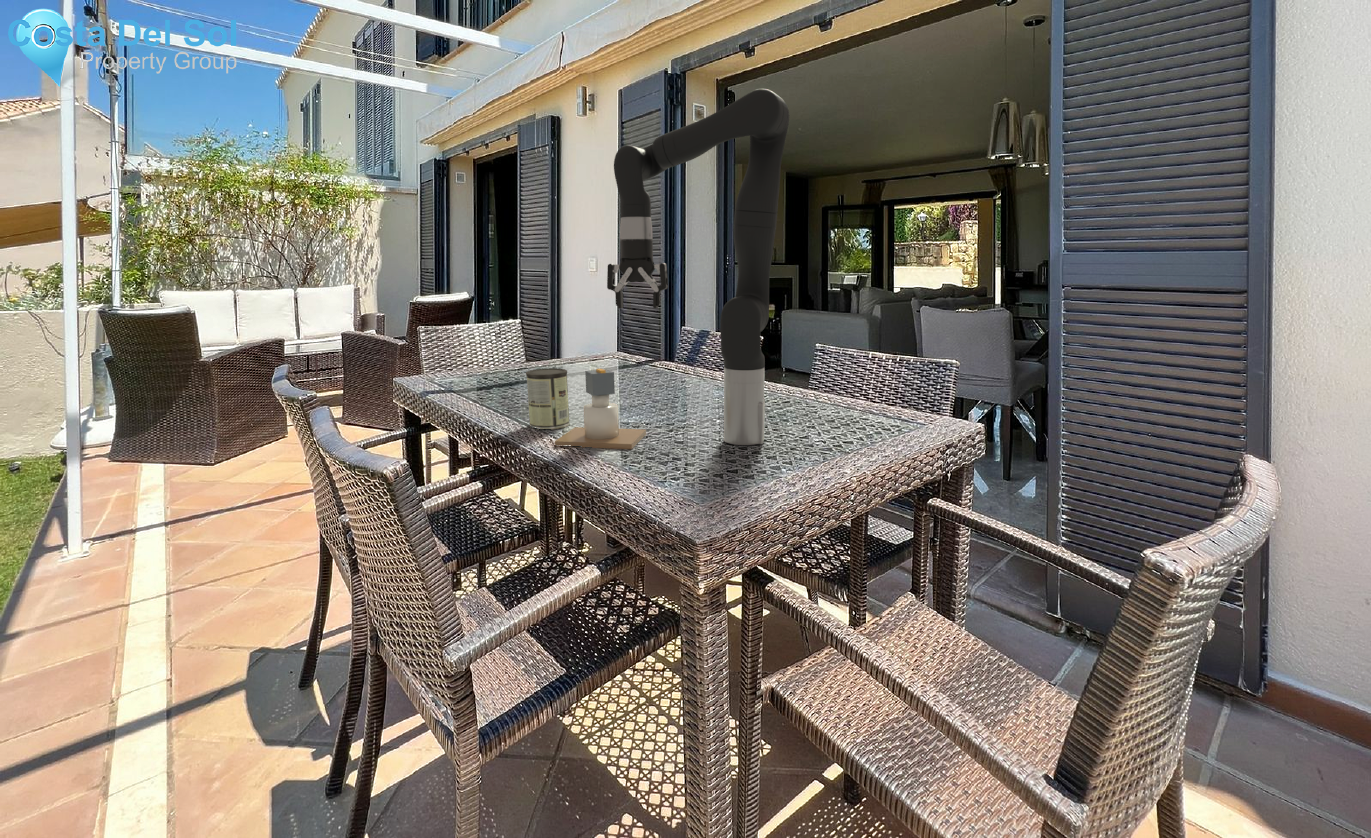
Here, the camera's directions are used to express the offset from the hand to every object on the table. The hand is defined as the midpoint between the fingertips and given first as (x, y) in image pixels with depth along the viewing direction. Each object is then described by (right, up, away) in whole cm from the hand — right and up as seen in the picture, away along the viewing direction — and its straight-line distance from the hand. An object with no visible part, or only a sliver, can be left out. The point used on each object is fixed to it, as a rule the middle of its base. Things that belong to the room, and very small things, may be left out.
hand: (638, 308), depth 168 cm
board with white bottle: (-8, -31, -2) cm, 32 cm away
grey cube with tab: (-9, -20, -4) cm, 22 cm away
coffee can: (-24, -28, +14) cm, 39 cm away
